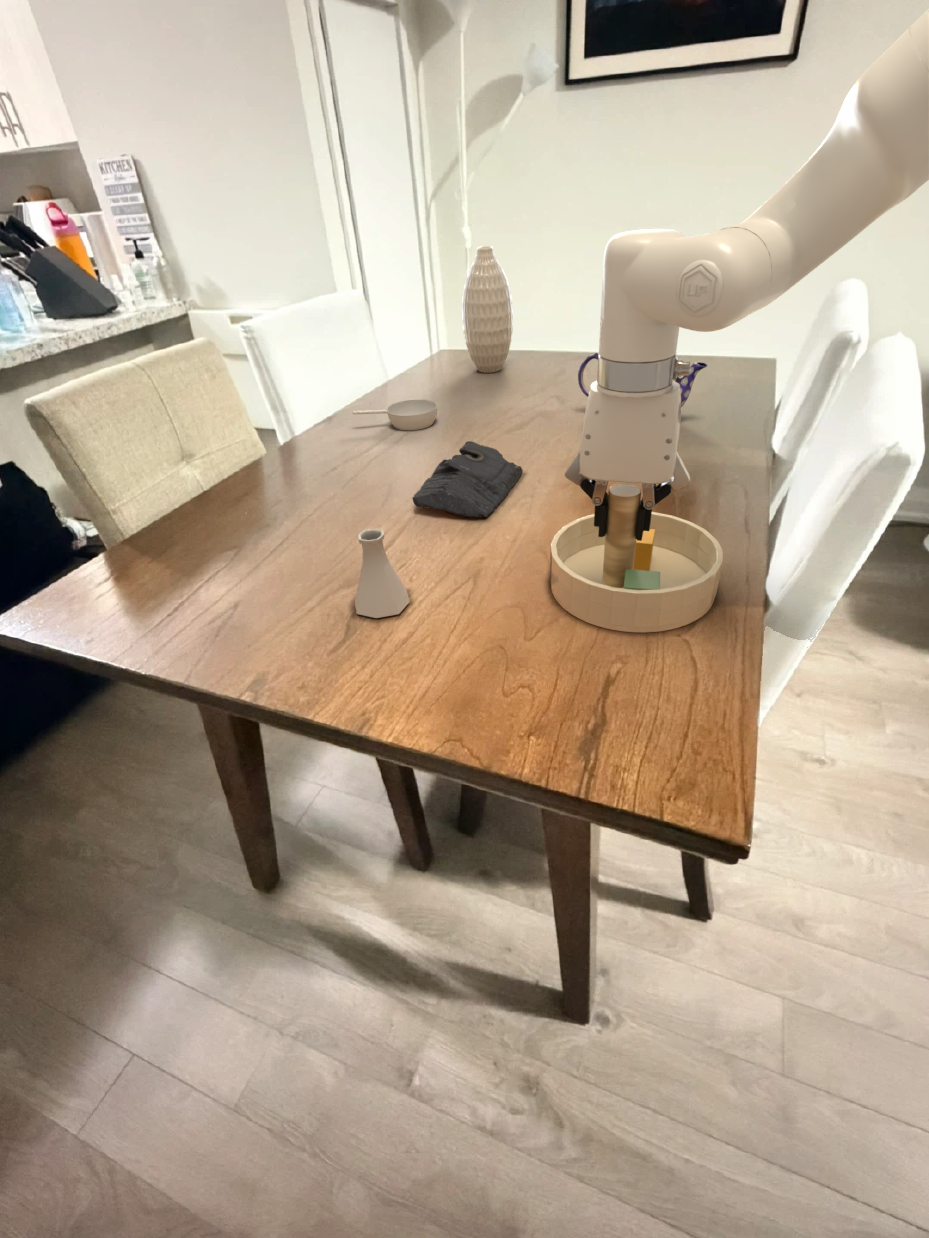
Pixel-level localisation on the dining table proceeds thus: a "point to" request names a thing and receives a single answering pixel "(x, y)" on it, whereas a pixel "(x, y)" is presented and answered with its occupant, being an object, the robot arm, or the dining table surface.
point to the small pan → (408, 414)
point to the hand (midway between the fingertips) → (621, 532)
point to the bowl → (677, 555)
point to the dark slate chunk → (469, 482)
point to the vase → (487, 312)
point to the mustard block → (644, 551)
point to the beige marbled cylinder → (620, 533)
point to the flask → (378, 580)
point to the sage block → (642, 580)
